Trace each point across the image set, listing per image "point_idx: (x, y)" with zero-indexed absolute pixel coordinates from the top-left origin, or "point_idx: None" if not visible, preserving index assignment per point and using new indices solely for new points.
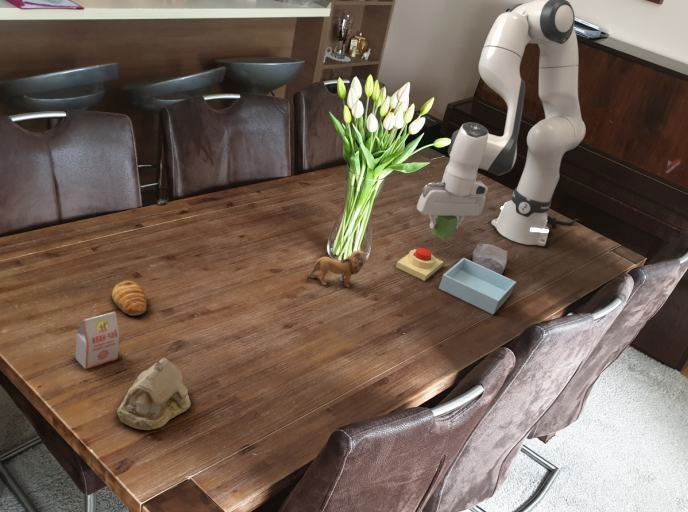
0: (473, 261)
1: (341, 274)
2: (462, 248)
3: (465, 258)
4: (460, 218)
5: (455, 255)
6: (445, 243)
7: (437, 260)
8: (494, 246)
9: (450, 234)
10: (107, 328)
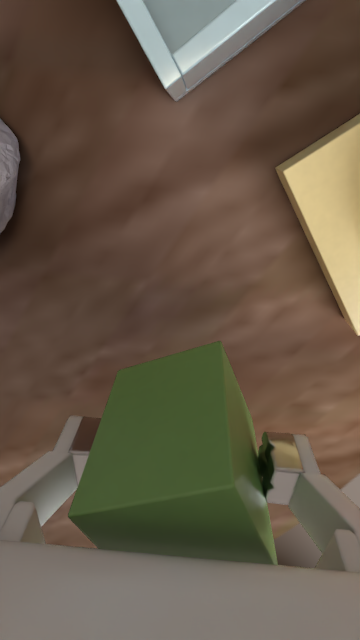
0: (13, 187)
1: None
2: (18, 338)
3: (154, 65)
4: (33, 505)
5: (94, 283)
6: (93, 381)
7: (319, 192)
8: None
9: (141, 376)
10: None
